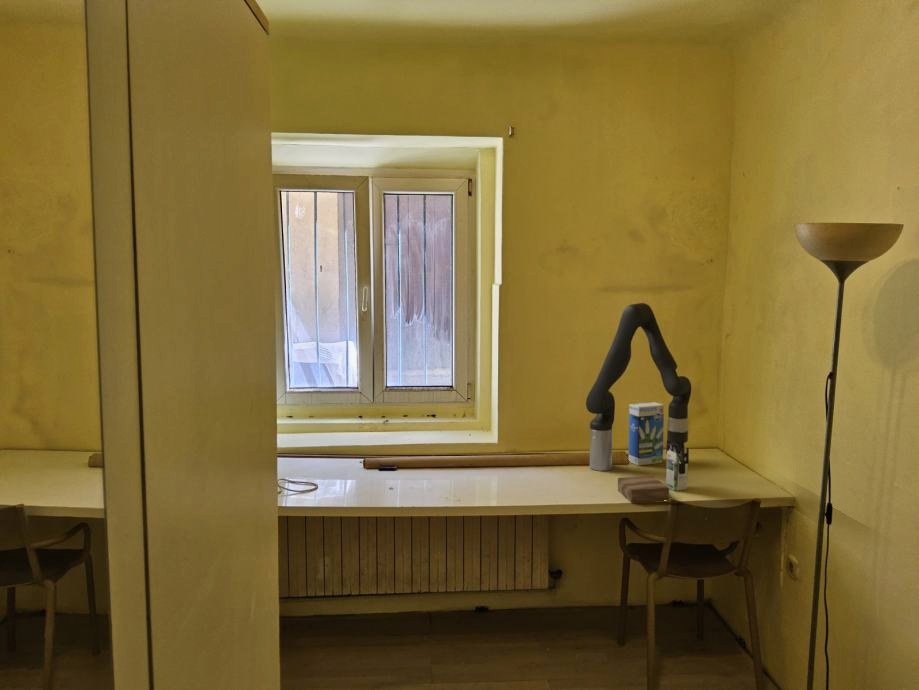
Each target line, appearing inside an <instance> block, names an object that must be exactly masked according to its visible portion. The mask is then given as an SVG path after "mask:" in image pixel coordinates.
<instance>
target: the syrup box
mask: <svg viewBox="0 0 919 690" xmlns="http://www.w3.org/2000/svg"><path fill="white" fill-rule="evenodd" d="M678 455H679V456H681V454H678ZM685 459H686V458H685ZM688 465H689V464H685V474H680V473H679V461H678V459H677V454H675V452H674V451H673V450H672V451H671V450H669V451H667V454H666V476H665V477H666V481H665V483H666V484H665V485H666V486H667V487H669V490H672V491H674V492H678V491H679V490H680V491H684V489H685V490H688V468H689V467H688ZM680 491H679V492H680Z"/></svg>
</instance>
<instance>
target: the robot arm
mask: <svg viewBox="0 0 919 690" xmlns="http://www.w3.org/2000/svg"><path fill="white" fill-rule="evenodd" d="M638 328H641V329H642V330H643V331H644V333H645V335H646V337H647V340H648V346H649V352H650V356H651V359H652V361H653V363H654V365H655V367H656V368H657V370H658V372H659V374H660V377H661V381H662V384H663V387H664V389H665V391H666V392H667V394H669V395H670V396H672V400H671V401H670V402H669V403H668V410H667V411H668V412H667V413H668V414H667V415H668V417H667V428H666V429H667V434H666V435H667V437H666V450H665V454H666V455H667V451H669V450H671V451H672V450H673V451H674V452H675V454H677V459H678V461H679V473H680V474H685V464H688V465H689V464H690V463H689V462H690V459H689V458H690V456H689V455H690V453H689V452H690V451H689V447H685V444H686V443H687V442H688V440H689V420H688V419H689V416H688V414H689V413H688V412H689V411H688V409H689V402H690V399H691V395H692V384H691V383H692V382H691V381H690V379H689V378H688V377H686V376H684V375H679V376H678V373H677V369H678V364H677V362H676V361H675V359H674V357H673V355H672V353H671V351H670V350H669V347H668V346H667V344H666V342H665V340H664V337H663V335H662V332H661V330H660V326H659V325H658V322H657V319H656V316H655V313H654V311H653V310H652V308H651V306H650V305H649V304H647V303H644V302H638V303H633V304H629V305H627V306H625V308H624V310H623V311H622V314H621V316H620V319H619V323H618V327H617V330H616V333H615V335H614V338H613V340H612V343H611V345H610V347H609V350H608V352H607V354H606V356H605V359H604V361H603V364H602V366H601V369H600V370H599V373H598V375H597V378H596V380H595V381H594V383H593V385H592V387H591V388H590V390H589V392H588V394H587V396H586V398H585V399H586V400H585V407H586V409H587V411H588V412H589V413H591V414H593V415H594V414H595V417H594V418H593V419H592V420H591V421H589V468H590V469H591V470H594V471H600V472H602V471H610V470H612V469H613V468H612V467H613V465H612V464H613V462H612V461H613V460H612V459H613V452H612V451H613V426H614V425H613V424H614V421H615V410H616V401H615V397H614V395H613V393H612V392H611V391H610V389H611V388H612V386H613V385H614V384H616V383H617V381H619V379H620V378H621V377H622V376H623V374H625V372H626V370H627V368H628V366H629V363H630V361H631V358H632V341H633V338H634V336H635V335H636V332H637V330H638ZM678 454H681V456H679V455H678ZM685 458H686V459H685Z"/></svg>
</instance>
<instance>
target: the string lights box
mask: <svg viewBox="0 0 919 690" xmlns="http://www.w3.org/2000/svg"><path fill="white" fill-rule="evenodd" d="M628 407H629V410H628V412H629V413H628V419H629V420H628V421H629V422H628V460H629V461H630V462H629V461H628V462H629V463H631V464H633V465H635V466H645V465H653V464H654V465H655V464H662V462H664V426H665V425H664V424H665V423H664V417H665V415H664V413H665V409H664V408H665V404H663V403H658V402H654V401H652V402H639V403H633V404H632V403H630V404H629V405H628Z"/></svg>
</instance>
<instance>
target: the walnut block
mask: <svg viewBox="0 0 919 690" xmlns="http://www.w3.org/2000/svg"><path fill="white" fill-rule="evenodd" d="M617 492H619V493H620V495H622V496H623V497H624V498H625V499H626V500H627V501H629V502H630V503H631V504H641V503H642V504H643V503H657V502H656V501H663V502H665V501H664V500H667V501H666V502H669V501H670V488H669V487H667V486H666V484H665V483H663V482H662V481H661V480H659V479H658V478H657V477H655V476H654V475H647V476H630V477H628V476H627V477H618V478H617Z"/></svg>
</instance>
